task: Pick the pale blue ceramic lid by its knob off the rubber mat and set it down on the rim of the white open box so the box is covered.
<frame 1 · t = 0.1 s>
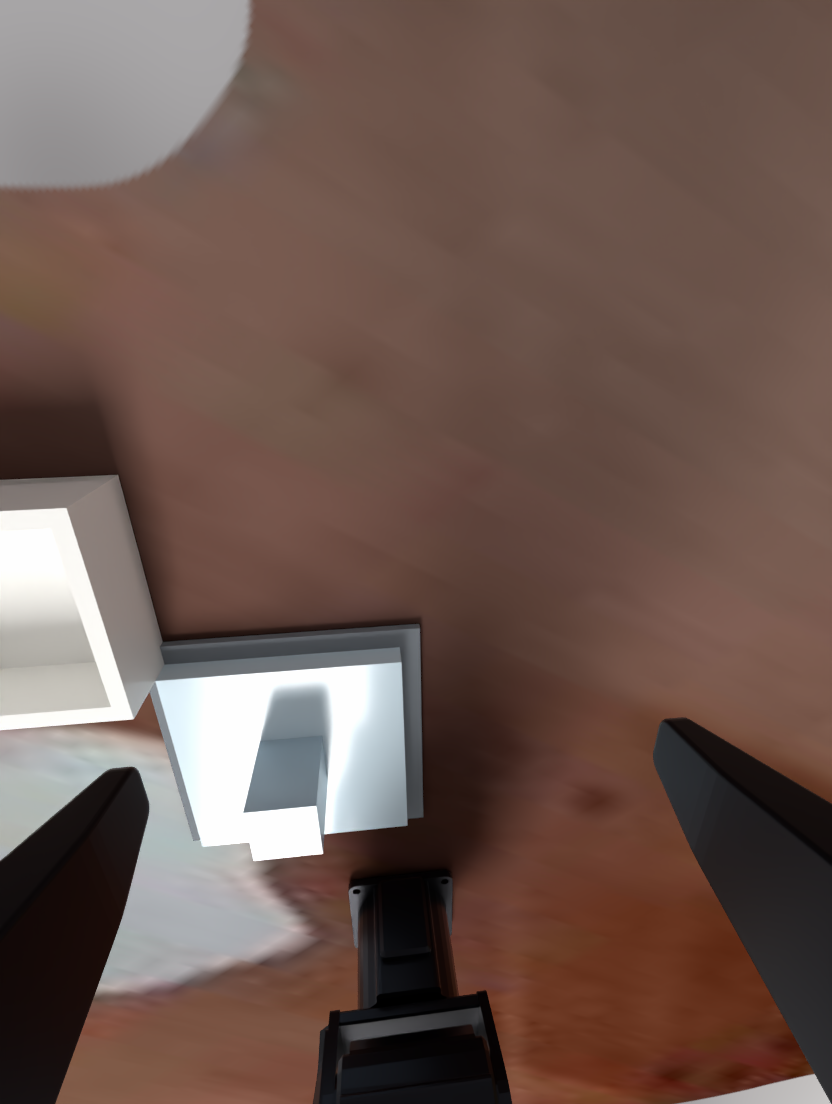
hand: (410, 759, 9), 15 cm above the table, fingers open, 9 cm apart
lid: (297, 743, 27), resting on mat
mat: (298, 737, 27), on the table
white open box: (36, 581, 22), on the table
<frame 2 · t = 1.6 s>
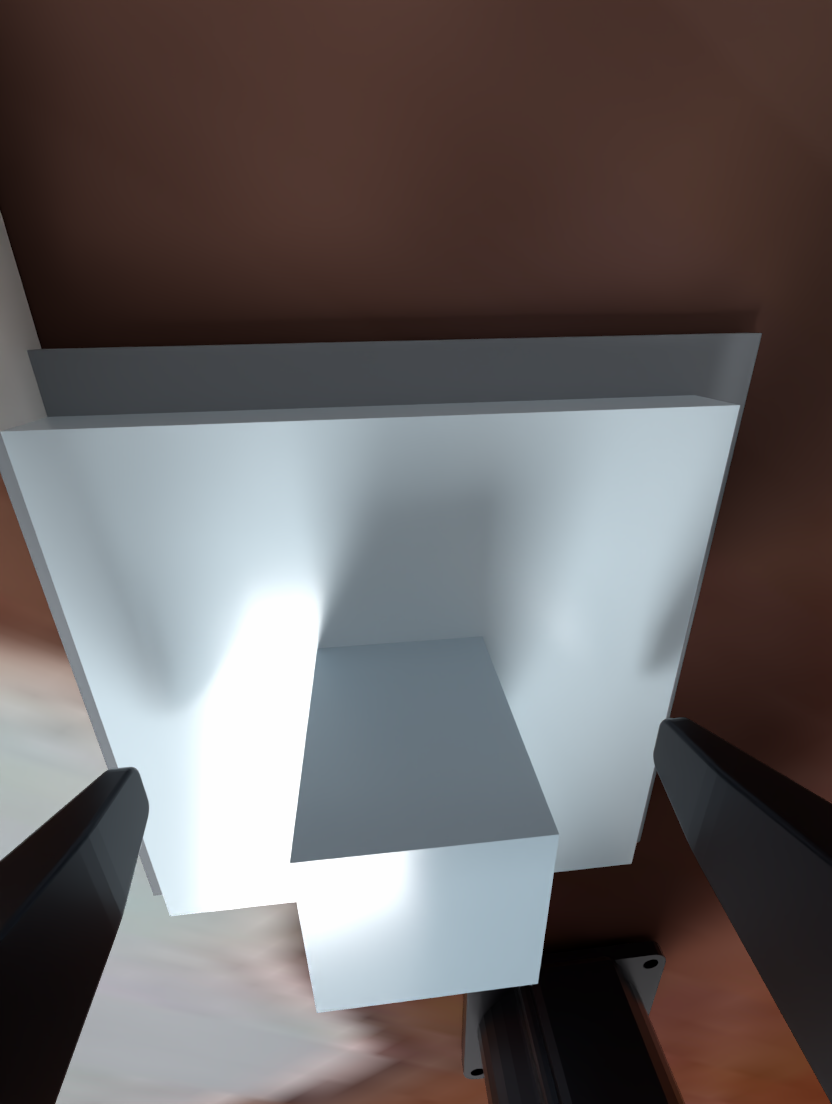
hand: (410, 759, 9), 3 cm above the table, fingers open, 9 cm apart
lid: (398, 669, 11), resting on mat
mat: (397, 657, 11), on the table
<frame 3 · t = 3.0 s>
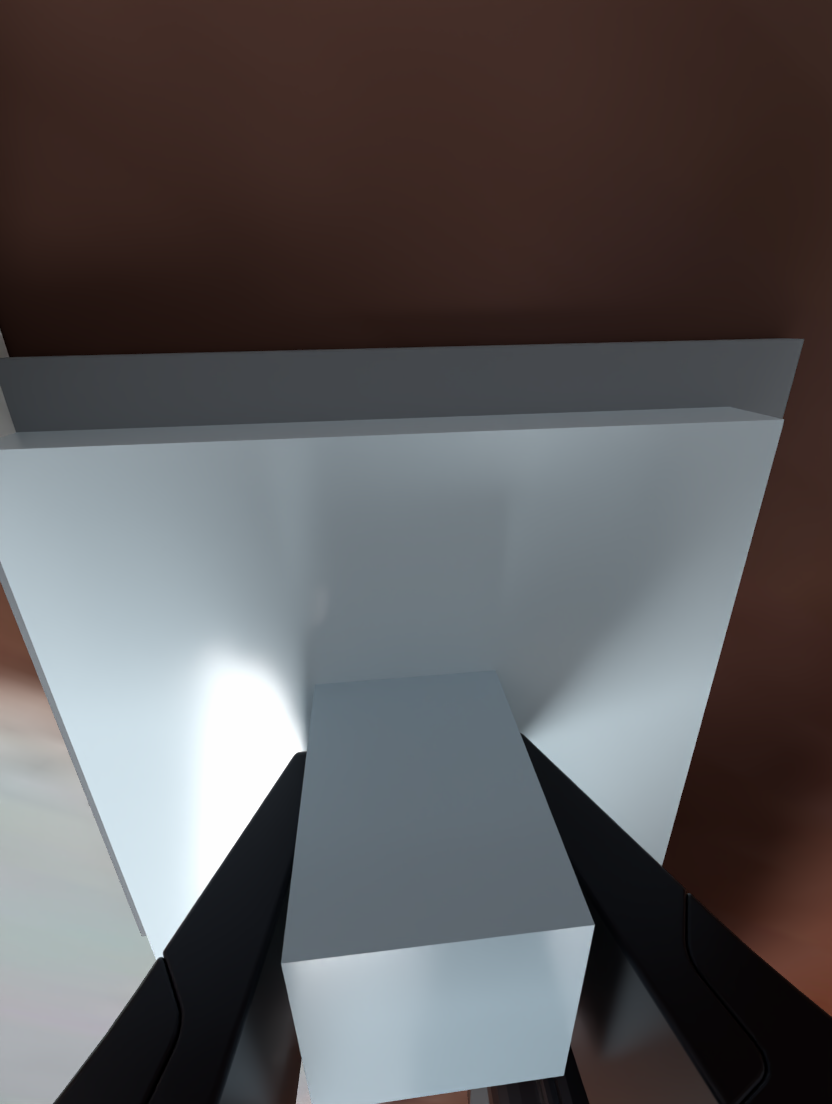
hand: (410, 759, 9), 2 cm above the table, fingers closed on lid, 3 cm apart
lid: (403, 700, 10), resting on mat, touching gripper
mat: (401, 687, 11), on the table
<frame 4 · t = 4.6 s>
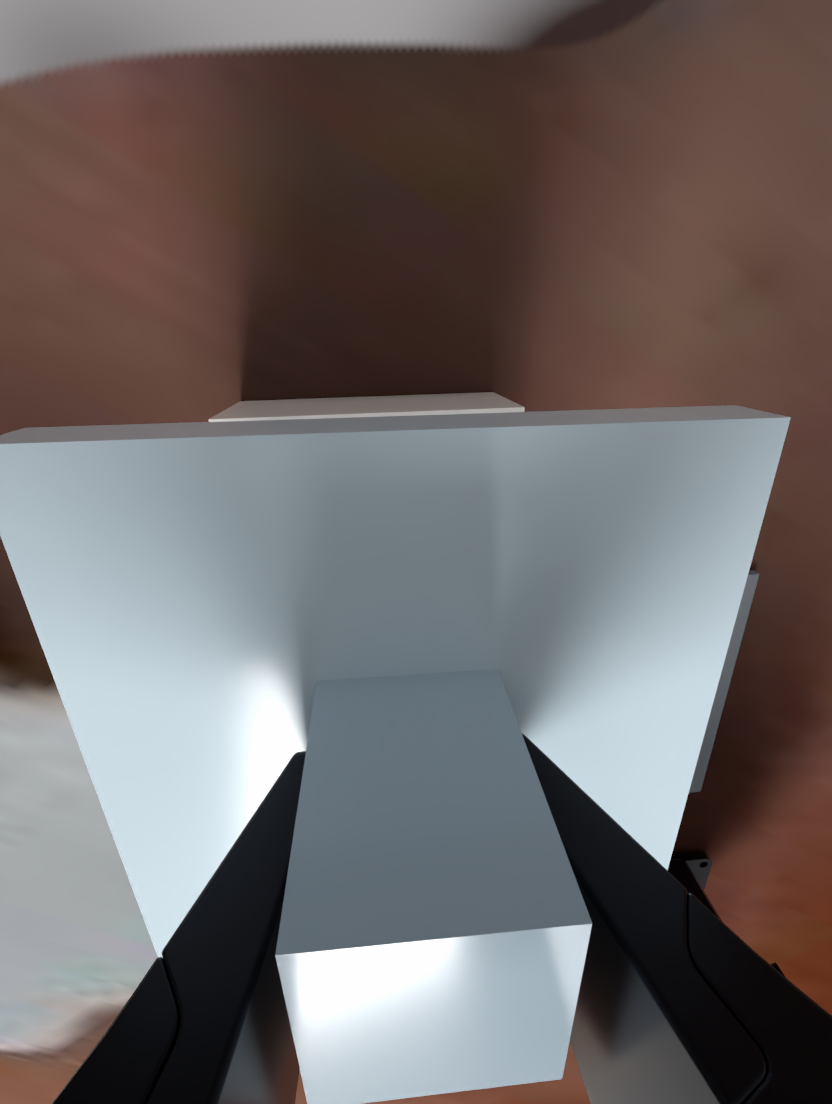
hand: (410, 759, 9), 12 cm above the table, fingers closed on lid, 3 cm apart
lid: (406, 699, 10), point 11 cm above the table, touching gripper
mat: (594, 699, 25), on the table
white open box: (376, 515, 20), on the table
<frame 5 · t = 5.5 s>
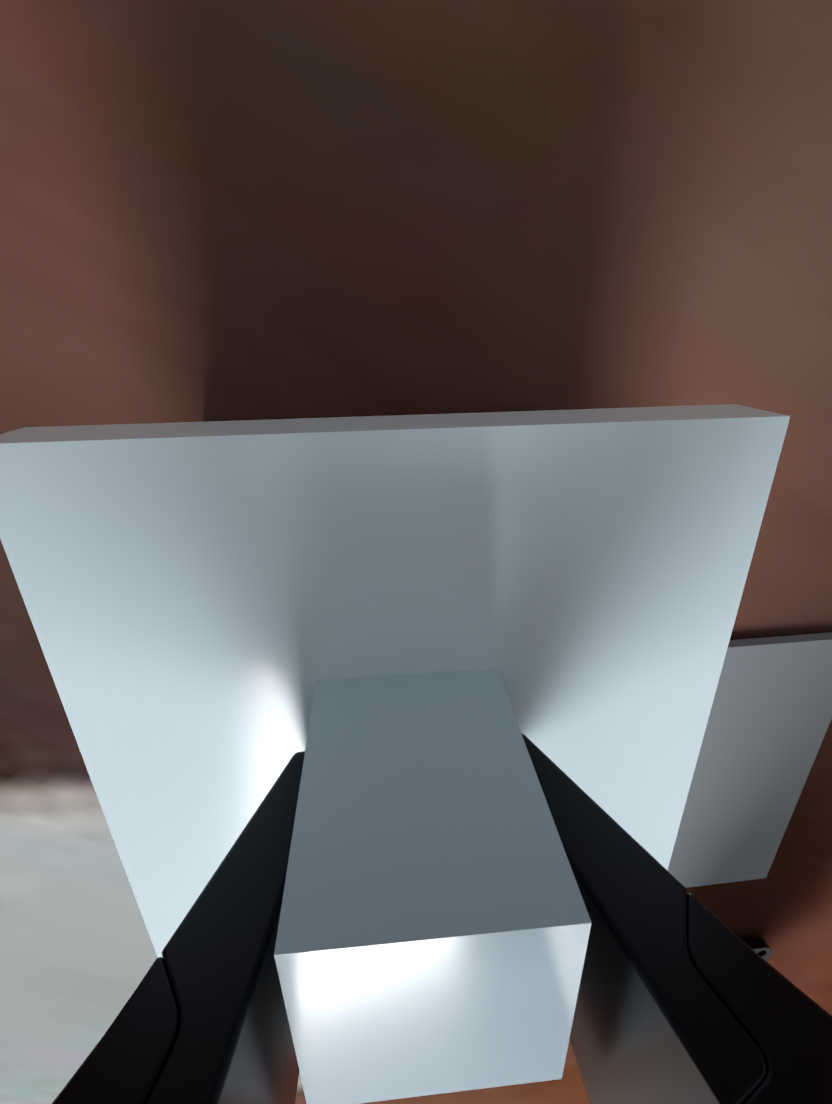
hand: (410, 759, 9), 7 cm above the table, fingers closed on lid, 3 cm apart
lid: (405, 698, 10), point 6 cm above the table, touching gripper
mat: (648, 780, 20), on the table
when the fingers open (7 cm above the table, at t = 6.2 s): lid drops 1 cm, resting on white open box.
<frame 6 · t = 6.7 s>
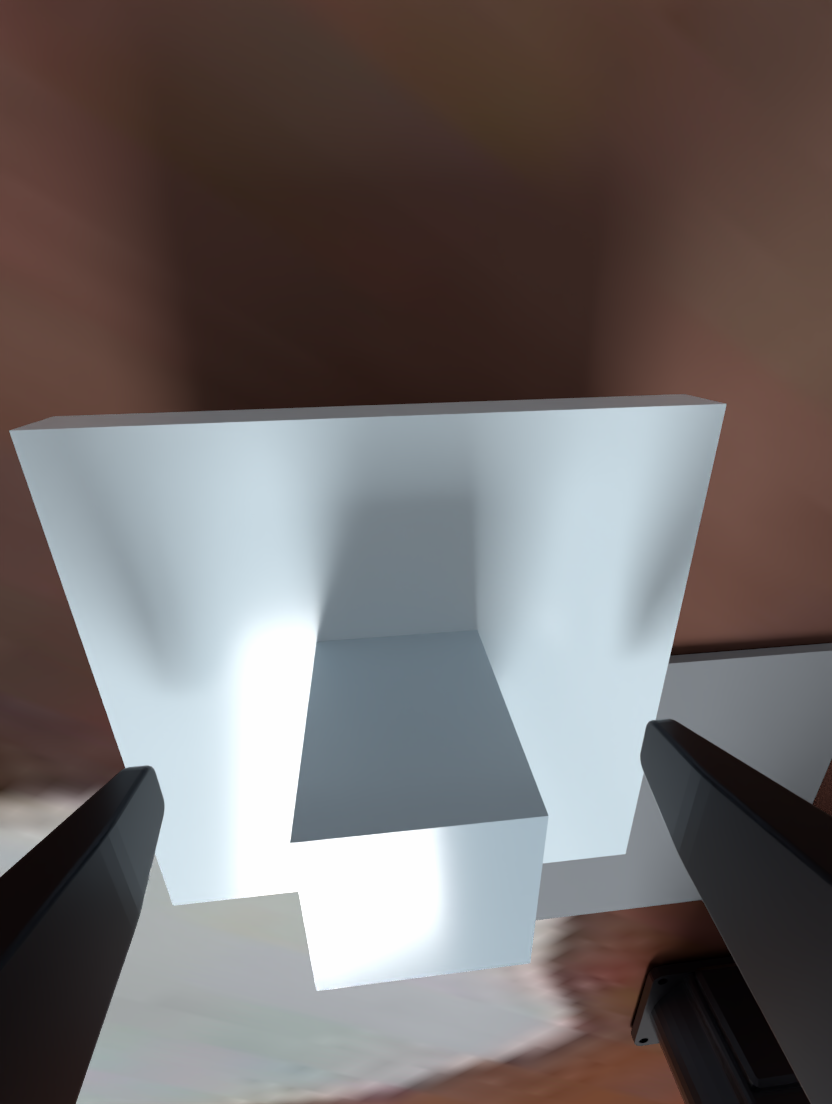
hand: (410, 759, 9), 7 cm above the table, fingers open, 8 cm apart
lid: (396, 662, 11), point 4 cm above the table, touching white open box
mat: (656, 792, 20), on the table
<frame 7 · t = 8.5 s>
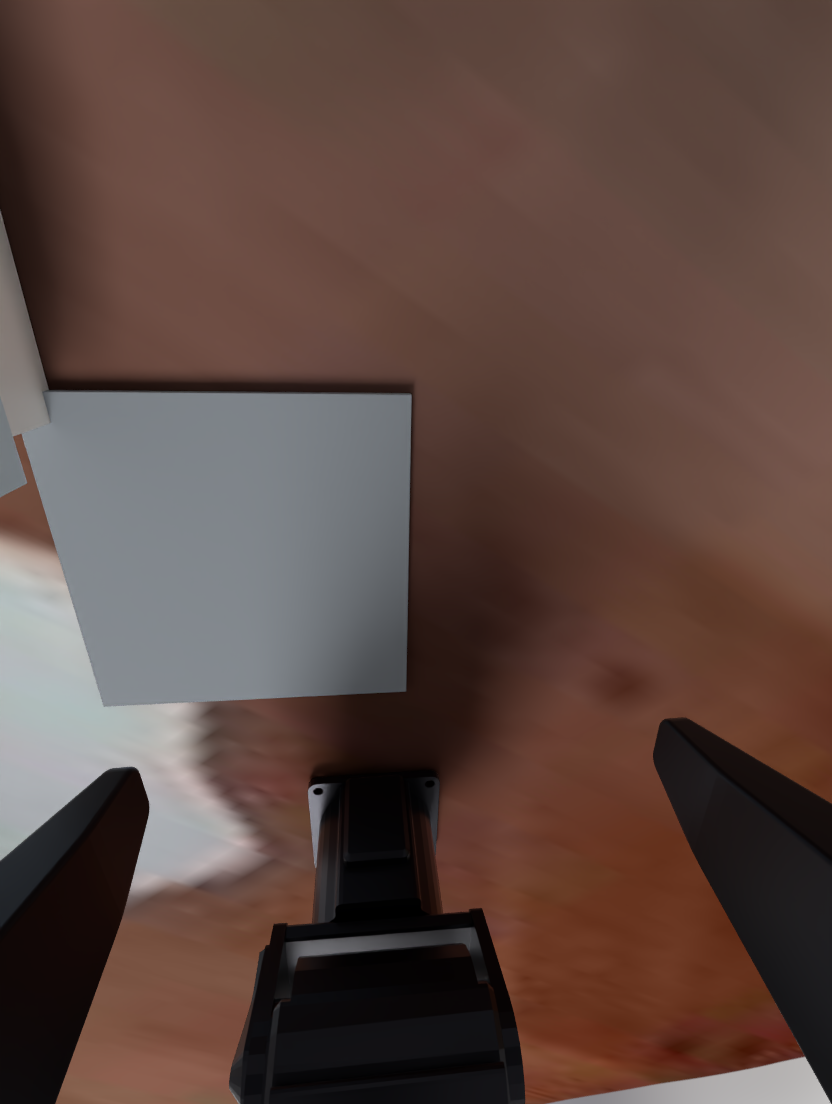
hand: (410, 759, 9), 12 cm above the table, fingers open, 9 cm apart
mat: (243, 562, 20), on the table
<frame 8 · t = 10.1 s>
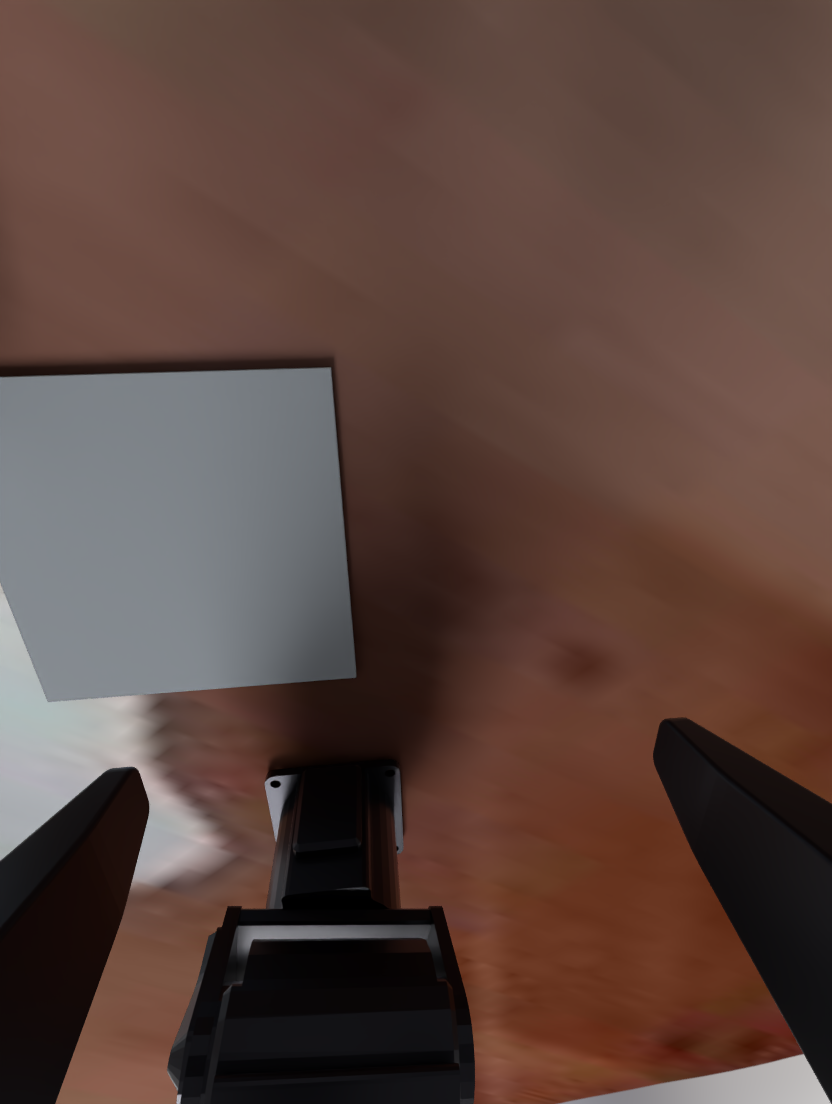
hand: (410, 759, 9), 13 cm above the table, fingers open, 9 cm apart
mat: (177, 549, 20), on the table
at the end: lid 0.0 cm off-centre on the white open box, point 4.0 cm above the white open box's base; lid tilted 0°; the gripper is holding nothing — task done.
